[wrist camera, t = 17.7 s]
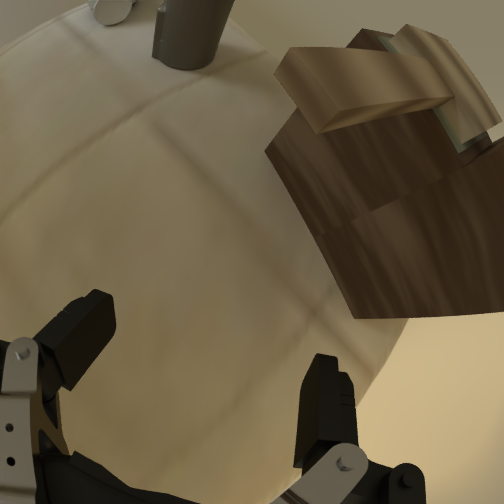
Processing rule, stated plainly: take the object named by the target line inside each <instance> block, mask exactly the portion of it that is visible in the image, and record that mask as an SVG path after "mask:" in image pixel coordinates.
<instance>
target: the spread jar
mask: <svg viewBox="0 0 504 504" xmlns="http://www.w3.org/2000/svg"><path fill="white" fill-rule="evenodd" d="M137 1H138V0H88V4H89V7H90V8H91V9H92V10H93V14H94V17H95V19H96V20H97V21H98V22H99V23H101V24H103V25H113V24H116V23H119V22H120V21H122V20H123V19H125V18H126V17H127V16H128V14H129V13H130V11H131V7H132V6H133V5H134V4H135V3H136V2H137Z"/></svg>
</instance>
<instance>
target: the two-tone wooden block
mask: <svg viewBox="0 0 504 504" xmlns="http://www.w3.org/2000/svg"><path fill="white" fill-rule="evenodd" d="M393 36H394V35H392V34H388V33H383V32H378V31H374V30H368V29H363V28H362V29H361V30H360V32H359V33H358V34H357V35H356V36H355V37H354V39H353V40H352V41H351V42H350V43H349V44H348V45H347V47H346V48H353V49H365V50H375V51H384V52H391V53H398V54H400V53H399V52H398V51H397V50H396V49H395V48H394V46H393V45H392V44H391V43H390V42H389V40H390V39H391V38H392V37H393ZM265 153H266V154H267V156H268V158H269V159H270V161H271V163H272V164H273V166H274V168H275V169H276V171H277V173H278V175H279V176H280V178H281V180H282V181H283V183H284V185H285V187H286V188H287V190H288V192H289V194H290V195H291V197H292V199H293V201H294V203H295V204H296V206H297V208H298V210H299V212H300V213H301V215H302V217H303V219H304V221H305V222H306V224H307V226H308V228H309V230H310V232H311V234H312V235H313V237H314V239H315V241H316V243H317V245H318V247H319V249H320V251H321V253H322V254H323V256H324V258H325V260H326V262H327V264H328V266H329V268H330V270H331V272H332V274H333V276H334V278H335V280H336V282H337V284H338V286H339V288H340V290H341V292H342V294H343V296H344V298H345V300H346V302H347V305H348V307H349V309H350V311H351V313H352V315H353V317H354V319H385V318H421V317H442V316H459V315H472V314H484V313H495V312H504V137H502V138H500V139H498V140H497V141H494V142H493V143H492V141H491V139H490V137H489V135H488V133H487V131H485V132H483V133H481V134H479V135H477V136H475V137H474V138H472V139H470V140H468V141H466V142H465V143H463V144H461V142H460V140H459V139H458V137H457V135H456V133H455V132H454V130H453V128H452V126H451V125H450V123H449V121H448V120H447V118H446V116H445V115H444V113H443V112H442V110H441V109H440V107H437V108H431V109H425V110H419V111H414V112H408V113H403V114H398V115H393V116H388V117H384V118H379V119H375V120H370V121H366V122H362V123H358V124H354V125H350V126H346V127H342V128H338V129H334V130H331V131H327V132H323V133H320V134H315V132H314V130H313V129H312V127H311V126H310V124H309V123H308V121H307V120H306V118H305V117H304V116H303V114H302V113H301V111H300V110H299V108H298V107H297V109H296V110H295V111H294V112H293V114H292V115H291V116H290V118H289V119H288V120H287V122H286V123H285V124H284V126H283V127H282V128H281V130H280V131H279V132H278V134H277V135H276V136H275V138H274V139H273V140H272V142H271V143H270V144H269V146H268V147H267V148H266V150H265Z"/></svg>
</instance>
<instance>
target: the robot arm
mask: <svg viewBox="0 0 504 504" xmlns="http://www.w3.org/2000/svg"><path fill="white" fill-rule="evenodd" d="M234 1H235V0H164V3H163V4H162V5H161V6H160V7H159V8H158V11H157V17H156V25H155V32H154V41H153V51H152V57H154V58H158V59H159V60H160V61H162V62H163V63H164V64H166V65H168V66H170V67H173V68H177V69H185V70H186V69H197V68H201V67H204V66H206V65H208V64H209V63H210V62H211V61H212V60H213V58H214V56H215V53H216V51H217V48H218V44H219V41H220V38H221V35H222V33H223V30H224V27H225V24H226V22H227V19H228V16H229V14H230V11H231V8H232V6H233V3H234ZM115 330H116V318H115V310H114V301H113V297H112V295H111V294H108V293H105V292H103V291H100V290H97V289H94V290H92V291H91V292H90V293H89V294H88V295H87V296H85V297H80V298H78V299H76V300H74V301H72V302H70V303H69V304H68V305H67V306H66V307H65V308H64V309H63V311H60V312H59V313H58V314H57V316H56V317H54V318H53V319H52V320H51V321H50V322H49V323H48V324H47V325H46V326H45V327H44V328H43V329H42V330H41V331H40V332H39V333H38V334H36V335H35V336H34V337H33V338H32V339H31V338H27V337H22V338H18V339H16V340H14V341H13V342H11V343H10V342H6V341H3V340H0V504H199V503H196V502H192V501H189V500H186V499H182V498H179V497H176V496H173V495H170V494H167V493H160V492H153V491H147V490H141V489H136V488H131V487H129V486H128V485H126V484H125V483H123V482H122V481H121V480H119V479H118V478H117V477H116V476H114V475H113V474H112V473H110V472H109V471H108V470H107V469H106V468H104V467H103V466H102V465H100V464H98V463H96V462H94V461H92V460H91V459H89V458H87V457H85V456H83V455H82V454H80V453H78V452H77V451H74V453H73V454H72V456H71V455H69V450H68V447H67V444H66V442H65V439H64V437H63V432H62V424H61V414H60V401H59V392H58V390H59V389H60V387H61V386H62V387H64V388H65V389H67V390H69V391H71V390H72V389H73V388H74V386H75V385H76V384H77V382H78V381H79V380H80V378H81V377H82V376H83V375H84V373H85V372H86V371H87V369H88V368H89V367H90V365H91V364H92V363H93V361H94V360H95V359H96V358H97V356H98V355H99V354H100V353H101V351H102V350H103V349H104V347H105V346H106V345H107V344H108V342H109V341H110V340H111V339H112V337H113V336H114V333H115ZM293 468H302V476H301V478H300V479H299V480H298V481H297V482H296V483H295V484H293V485H292V486H291V487H290V488H289V489H287V491H285V492H284V493H283V494H282V495H280V496H279V497H278V498H277V499H275V500H274V501H273V502H272V503H270V504H426V491H425V479H424V475H423V473H422V471H421V470H420V469H419V468H418V467H417V466H416V465H413V464H410V463H403V464H400V465H398V466H396V467H395V468H390V467H387V466H384V465H381V464H377V463H375V462H372V461H370V460H369V459H368V458H367V456H366V454H365V453H364V451H363V450H362V449H361V448H359V444H358V431H357V418H356V408H355V398H354V386H353V383H352V381H351V379H350V377H349V376H348V374H347V373H346V372H339V370H338V359H337V357H335V356H329V355H324V354H319V353H317V354H316V355H315V357H314V359H313V361H312V363H311V365H310V367H309V369H308V371H307V373H306V375H305V377H304V380H303V382H302V386H301V390H300V399H299V412H298V424H297V435H296V446H295V456H294V465H293Z"/></svg>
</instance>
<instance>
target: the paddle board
mask: <svg viewBox="0 0 504 504" xmlns="http://www.w3.org/2000/svg"><path fill="white" fill-rule="evenodd" d="M389 42H390V43H391V44H392V45H393V46H394V48H395V49H396V50H397V51H398V52H399V53H400V54H398V53H391V52H384V51H375V50H365V49H353V48H333V47H292V48H289V50H288V52H287V53H286V55H285V56H284V58H283V60H282V61H281V63H280V65H279V66H278V68H277V70H276V71H275V73H274V75H275V77H276V78H277V79H278V81H279V82H280V83H281V85H282V86H283V87H284V89H285V90H286V91H287V93H288V94H289V96H290V97H291V98H292V100H293V101H294V103H295V104H296V105H297V107H298V108H299V110H300V111H301V113H302V114H303V116H304V117H305V118H306V120H307V121H308V123H309V124H310V126H311V127H312V129H313V130H314V132H315V134H320V133H323V132H327V131H331V130H334V129H338V128H342V127H346V126H350V125H354V124H358V123H362V122H366V121H370V120H375V119H379V118H384V117H388V116H393V115H398V114H403V113H408V112H414V111H419V110H425V109H431V108H437V107H440V109H441V110H442V112H443V113H444V115H445V116H446V118H447V120H448V121H449V123H450V125H451V126H452V128H453V130H454V132H455V133H456V135H457V137H458V139H459V140H460V142H461V144H463V143H465V142H466V141H468V140H470V139H472V138H474V137H475V136H477V135H479V134H481V133H483V132H485V131H486V130H488V129H490V128H491V127H493V126H495V125H497V124H498V123H500V122H502V119H501V117H500V116H499V114H498V112H497V111H496V109H495V107H494V105H493V104H492V102H491V100H490V99H489V97H488V95H487V94H486V92H485V91H484V89H483V88H482V86H481V85H480V83H479V82H478V80H477V79H476V77H475V76H474V74H473V73H472V71H471V70H470V69H469V67H468V66H467V65H466V63H465V62H464V61H463V59H462V58H461V57H460V55H459V54H458V53H457V52H456V50H455V49H454V48H453V47H452V46H451V44H450V43H449V42H448V41H447V40H446V39H444V38H441V37H439V36H437V35H434V34H432V33H429V32H427V31H424V30H422V29H419V28H417V27H414V26H411V25H408V24H406V25H405V26H404V27H403V28H402V29H400V31H398V32H397V33H396V34H395V35H394V36H393V37H392V38H391V39H390V40H389Z"/></svg>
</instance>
